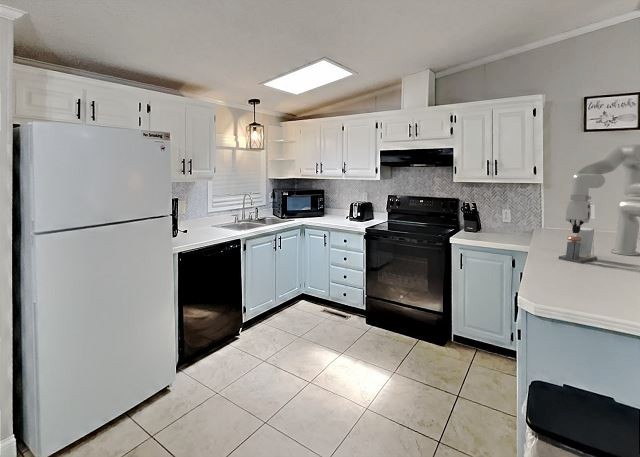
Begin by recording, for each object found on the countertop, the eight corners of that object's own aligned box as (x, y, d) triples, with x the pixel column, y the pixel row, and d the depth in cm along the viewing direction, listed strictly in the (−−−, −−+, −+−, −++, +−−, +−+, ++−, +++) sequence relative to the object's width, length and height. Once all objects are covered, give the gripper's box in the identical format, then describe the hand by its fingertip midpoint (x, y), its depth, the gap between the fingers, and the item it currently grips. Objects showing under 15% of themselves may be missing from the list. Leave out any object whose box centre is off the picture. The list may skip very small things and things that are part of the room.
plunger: (569, 252, 197) (571, 235, 195) (581, 255, 192) (583, 237, 190) (563, 254, 194) (565, 236, 192) (575, 256, 189) (577, 238, 187)
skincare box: (578, 253, 203) (581, 227, 200) (591, 255, 198) (594, 228, 196) (573, 255, 198) (576, 228, 195) (586, 257, 193) (589, 230, 191)
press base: (574, 255, 205) (576, 238, 203) (597, 259, 196) (599, 241, 194) (558, 259, 197) (560, 241, 195) (580, 263, 187) (583, 244, 186)
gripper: (599, 198, 183) (595, 234, 186) (567, 197, 196) (564, 230, 199) (591, 199, 180) (588, 235, 183) (560, 197, 193) (557, 231, 196)
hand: (575, 232), depth 191 cm, fingers closed
